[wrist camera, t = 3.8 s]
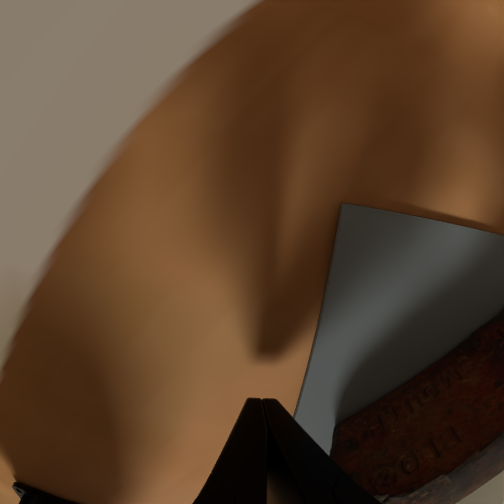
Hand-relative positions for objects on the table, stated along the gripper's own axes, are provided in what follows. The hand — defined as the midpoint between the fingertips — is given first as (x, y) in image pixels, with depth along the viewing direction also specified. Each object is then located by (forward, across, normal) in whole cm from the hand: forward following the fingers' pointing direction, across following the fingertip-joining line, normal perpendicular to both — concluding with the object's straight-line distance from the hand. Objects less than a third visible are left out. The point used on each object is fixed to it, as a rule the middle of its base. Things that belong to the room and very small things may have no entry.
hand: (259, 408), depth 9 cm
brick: (+1, -8, 0) cm, 8 cm away
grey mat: (+1, -12, +4) cm, 13 cm away
